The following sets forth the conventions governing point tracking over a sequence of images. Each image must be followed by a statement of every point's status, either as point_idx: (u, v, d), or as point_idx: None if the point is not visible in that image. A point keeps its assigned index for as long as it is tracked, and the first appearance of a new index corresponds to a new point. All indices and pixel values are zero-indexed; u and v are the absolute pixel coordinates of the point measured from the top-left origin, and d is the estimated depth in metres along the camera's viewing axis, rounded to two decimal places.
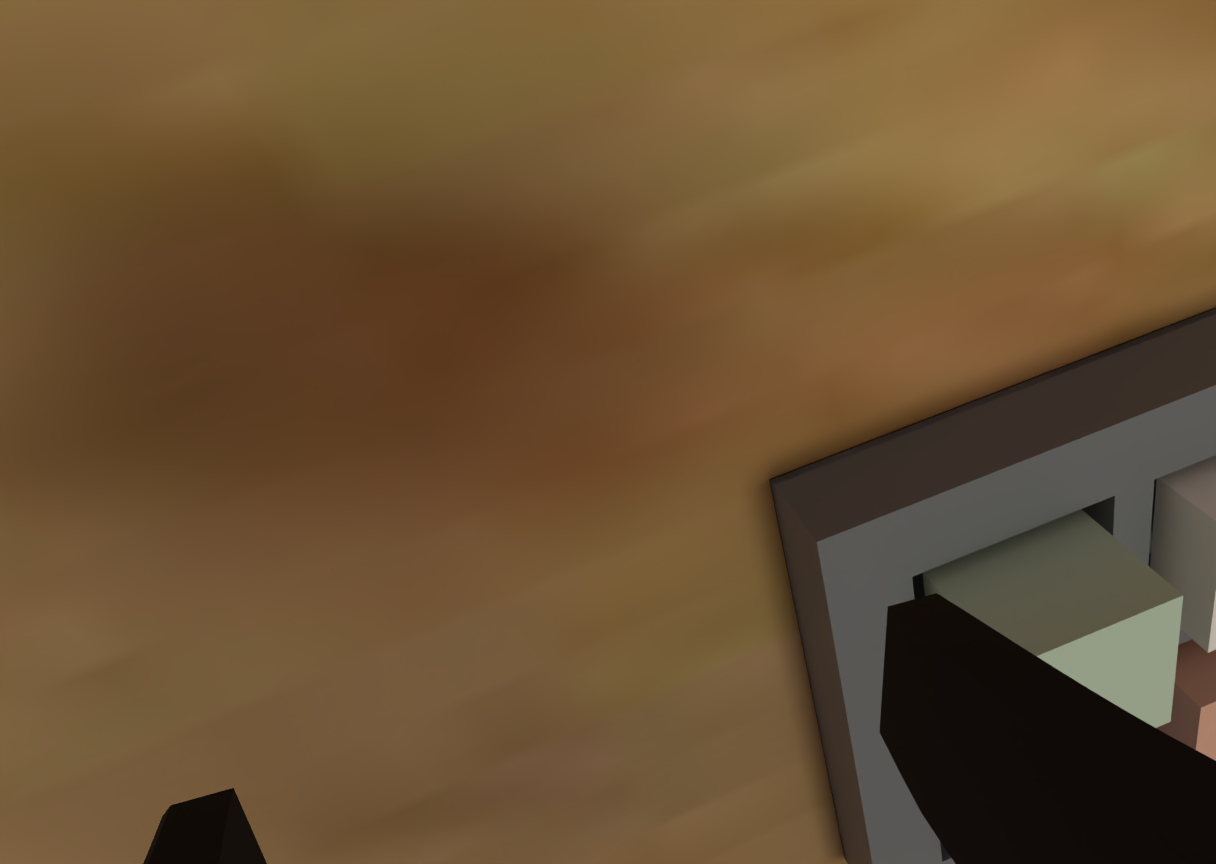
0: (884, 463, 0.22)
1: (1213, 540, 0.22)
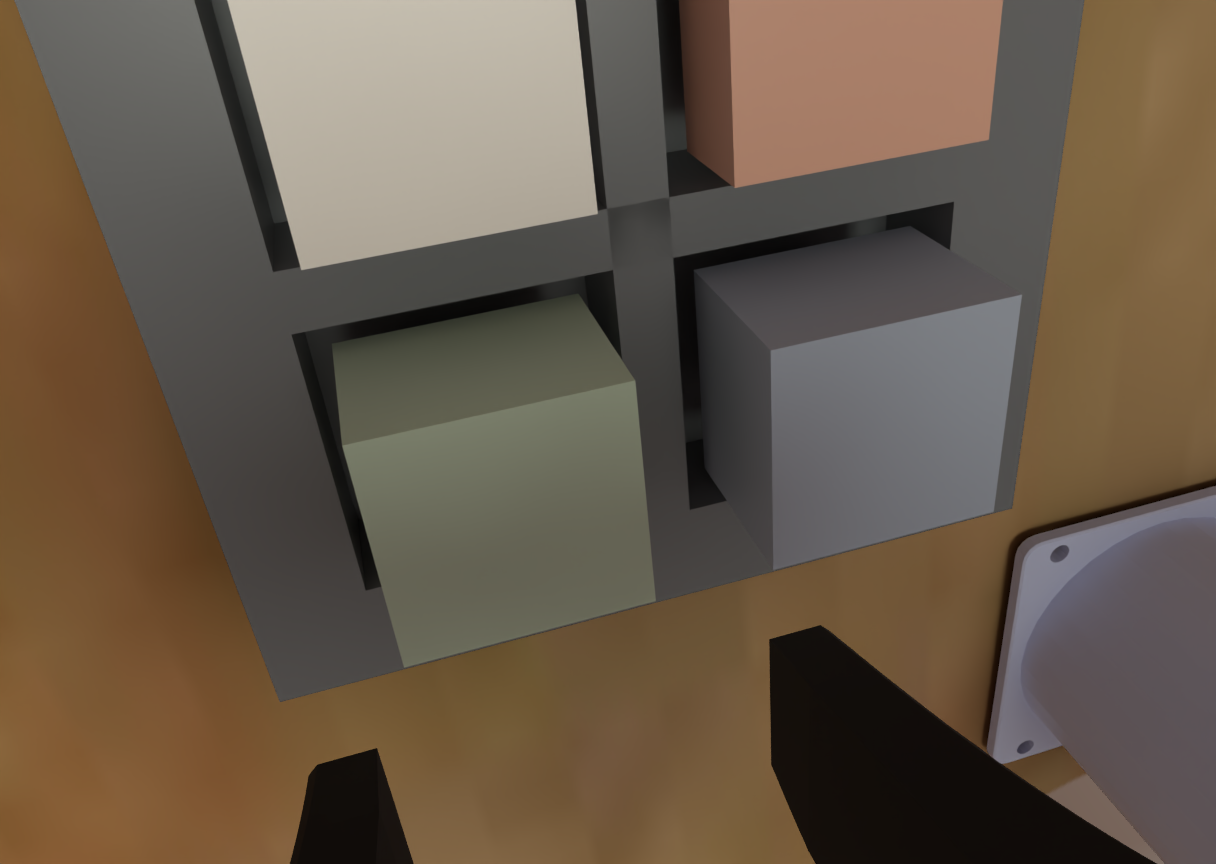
0: None
1: (345, 256, 0.13)
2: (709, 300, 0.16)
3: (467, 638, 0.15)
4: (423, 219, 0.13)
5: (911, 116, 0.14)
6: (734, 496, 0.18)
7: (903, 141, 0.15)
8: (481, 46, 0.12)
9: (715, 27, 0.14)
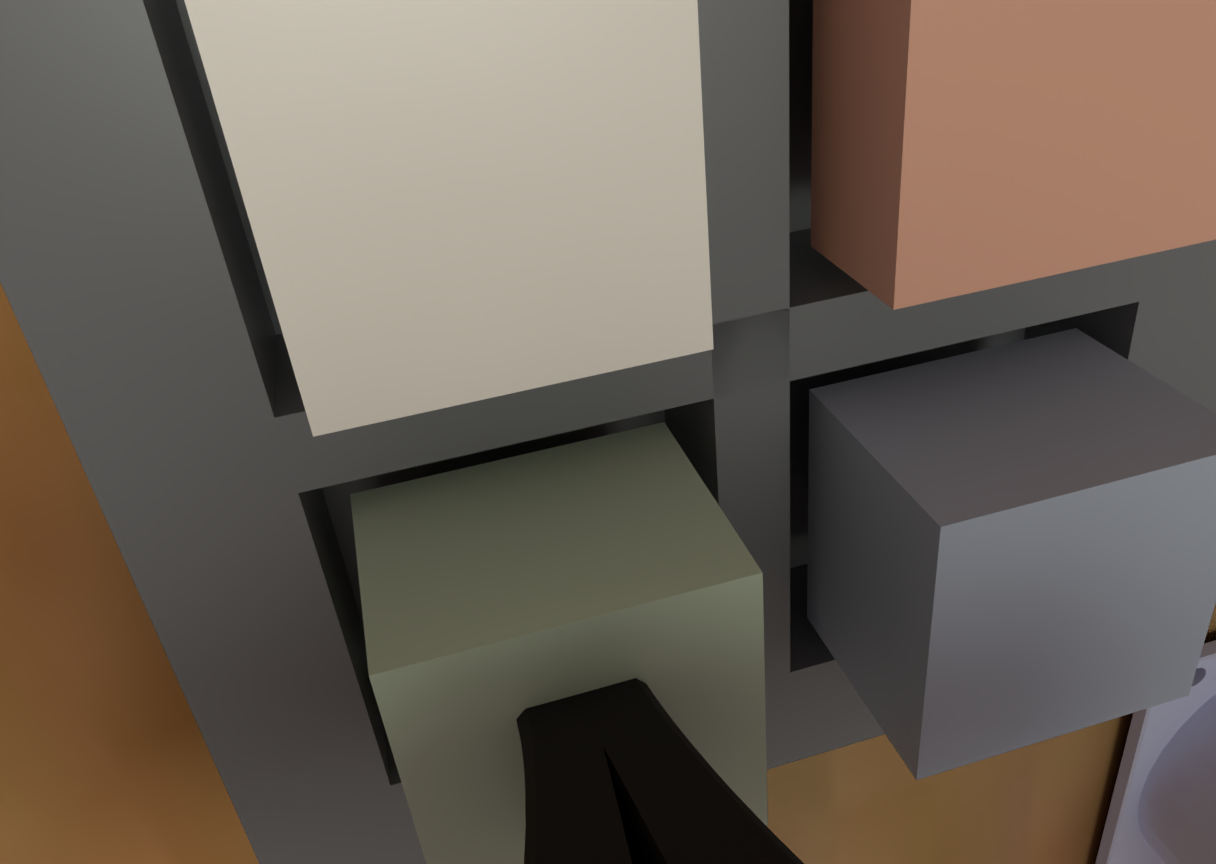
0: None
1: (373, 412, 0.10)
2: (833, 432, 0.13)
3: None
4: (480, 365, 0.10)
5: (1127, 212, 0.11)
6: (855, 669, 0.14)
7: (1113, 244, 0.11)
8: (567, 134, 0.09)
9: (877, 98, 0.10)
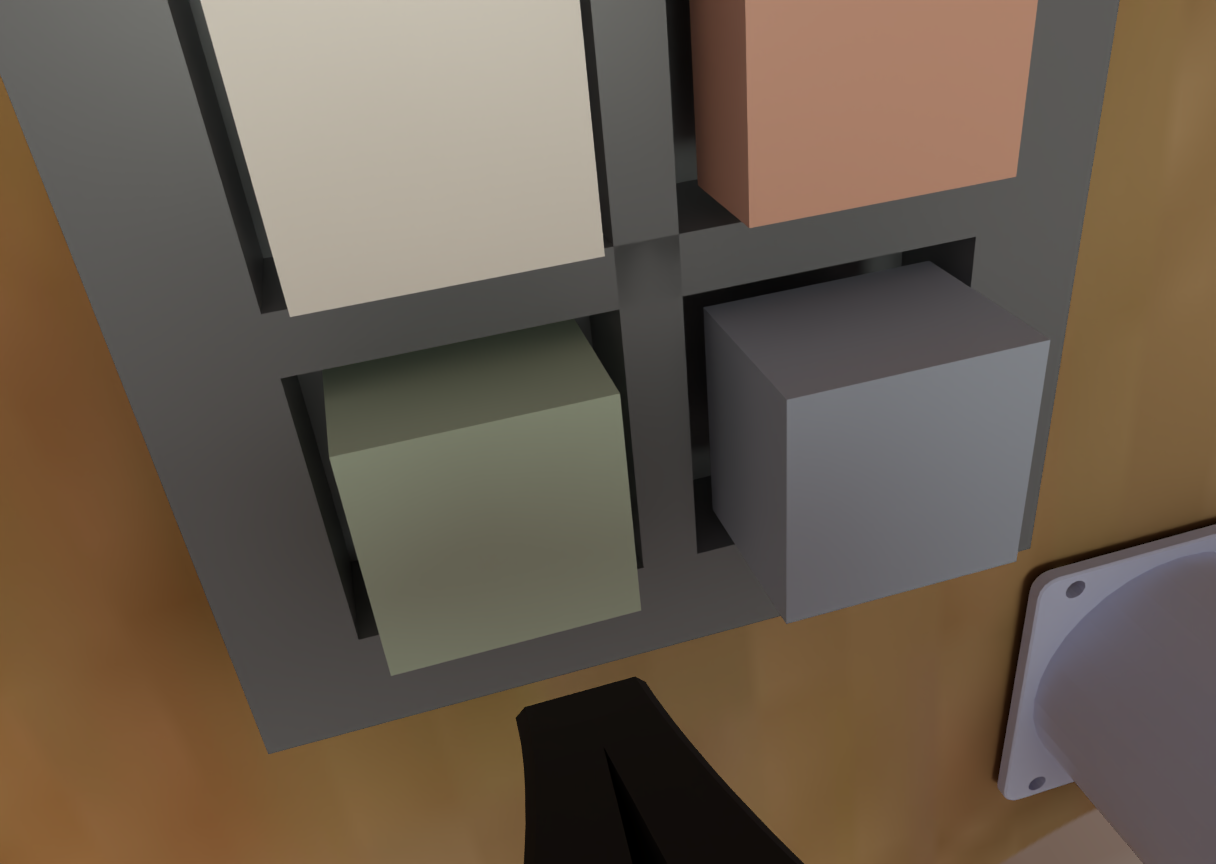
0: None
1: (336, 301, 0.13)
2: (720, 340, 0.16)
3: (454, 647, 0.15)
4: (420, 263, 0.12)
5: (935, 153, 0.14)
6: (744, 543, 0.17)
7: (927, 178, 0.14)
8: (482, 81, 0.12)
9: (730, 60, 0.13)
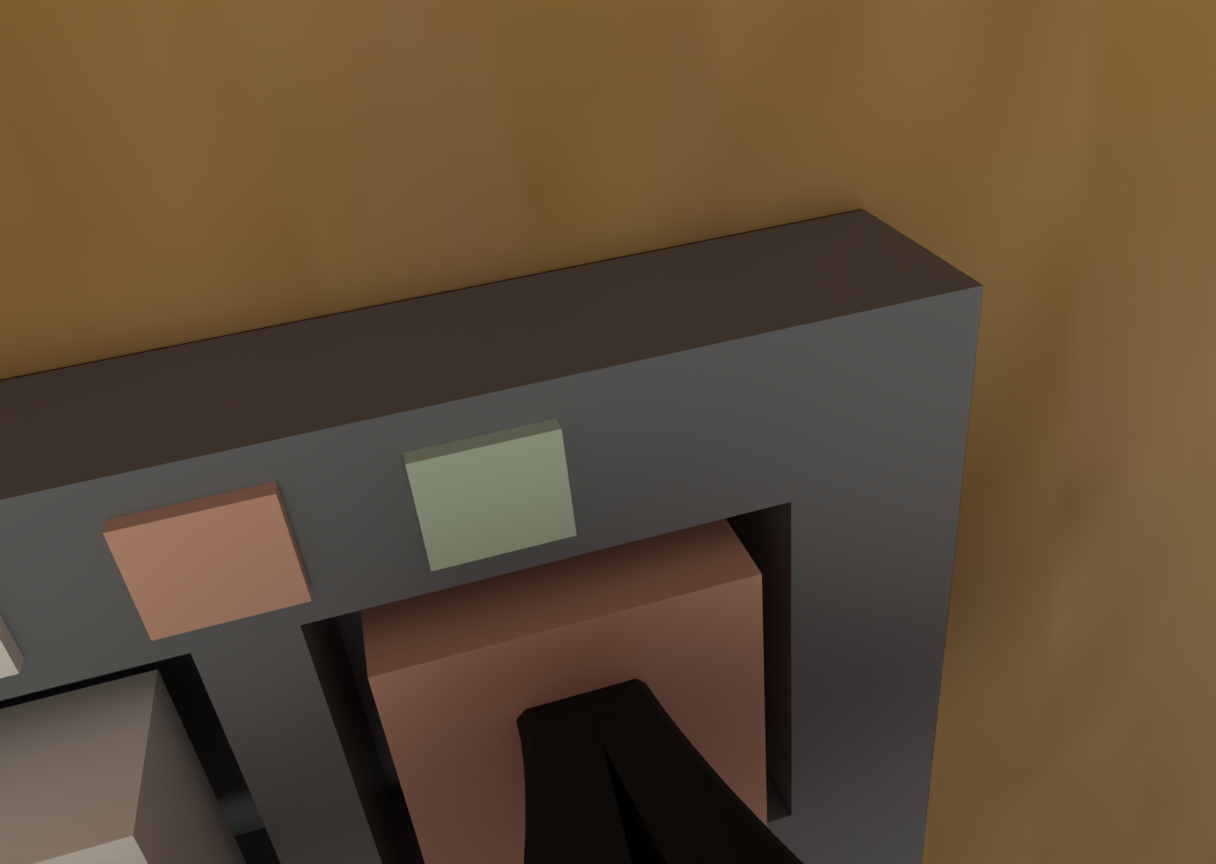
0: None
1: None
2: None
3: None
4: None
5: None
6: None
7: None
8: None
9: None
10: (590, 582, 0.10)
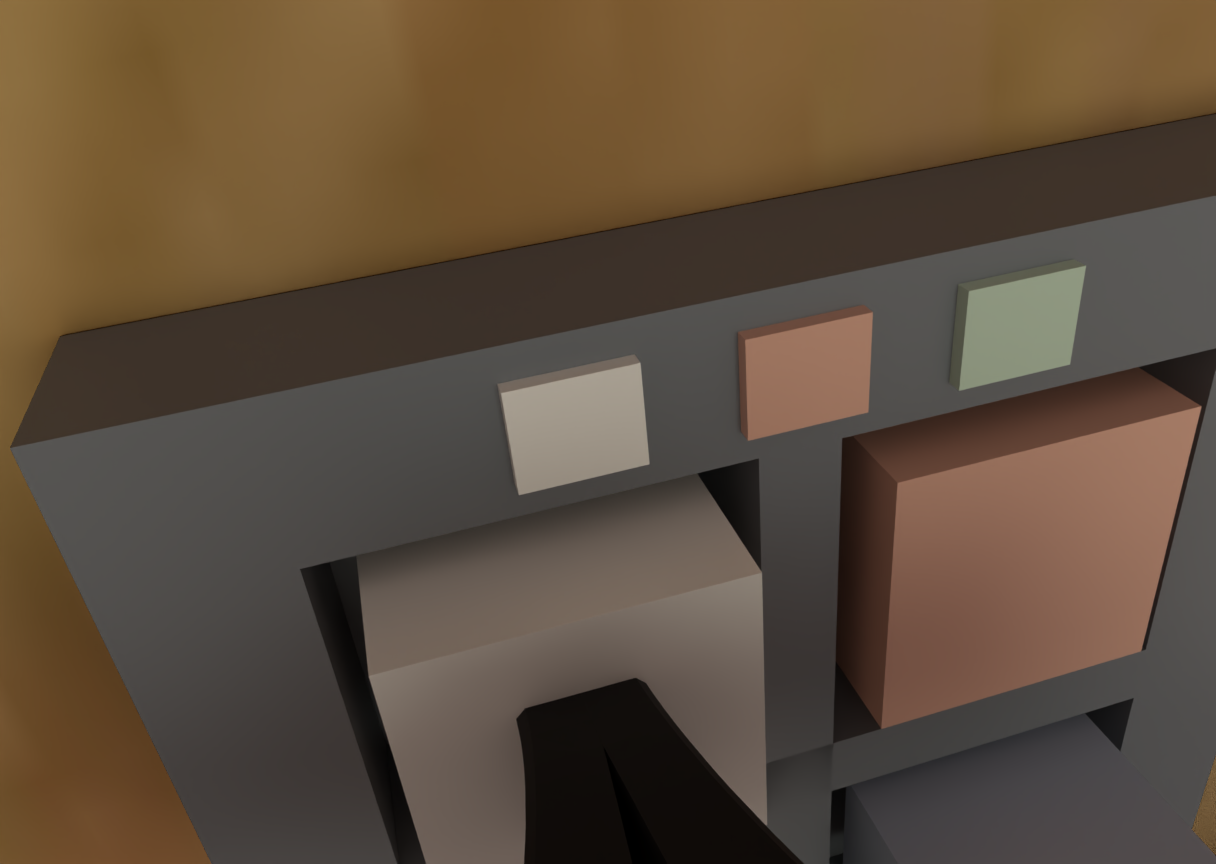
0: None
1: None
2: (868, 827, 0.15)
3: None
4: None
5: (1065, 646, 0.14)
6: None
7: (1055, 666, 0.14)
8: None
9: (868, 586, 0.13)
10: (1050, 415, 0.12)
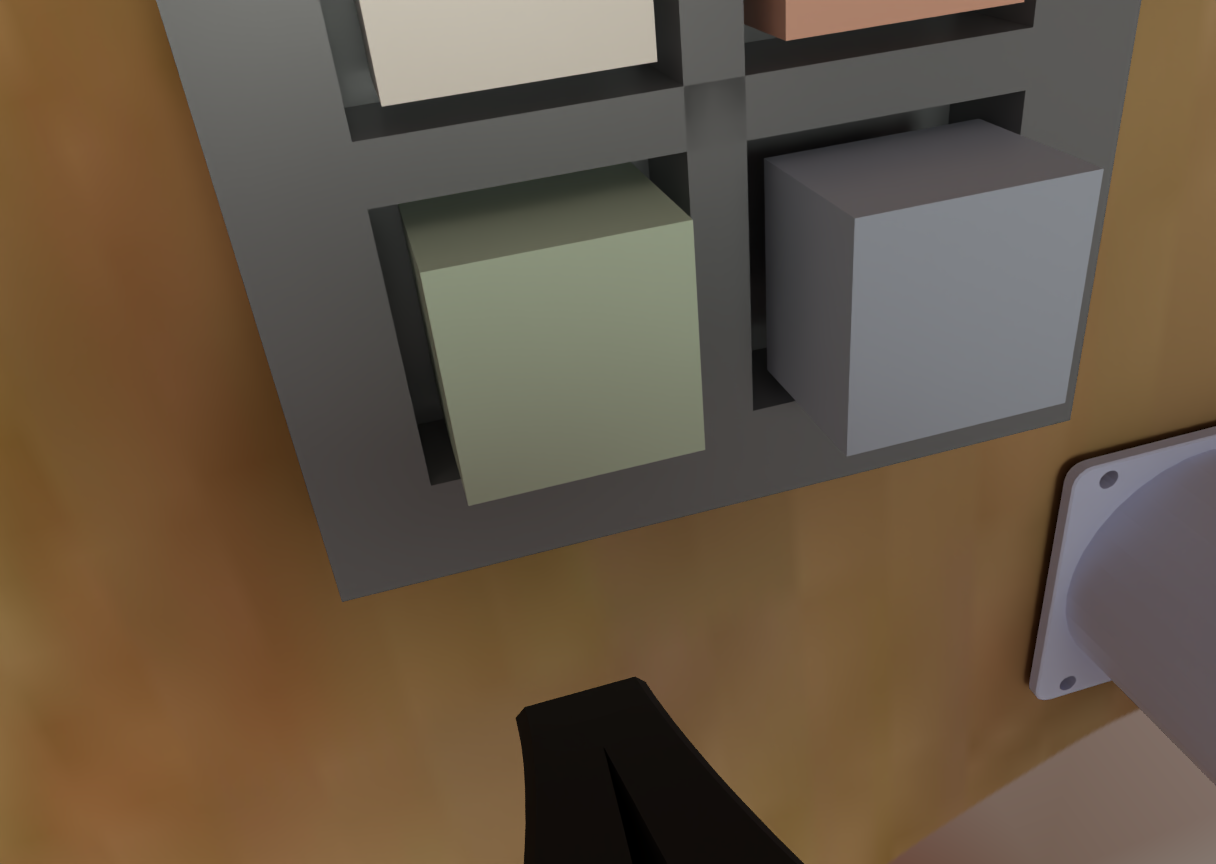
0: None
1: (421, 96, 0.14)
2: (781, 185, 0.16)
3: (528, 478, 0.16)
4: (495, 60, 0.14)
5: None
6: (802, 390, 0.17)
7: (944, 0, 0.15)
8: None
9: None
10: None
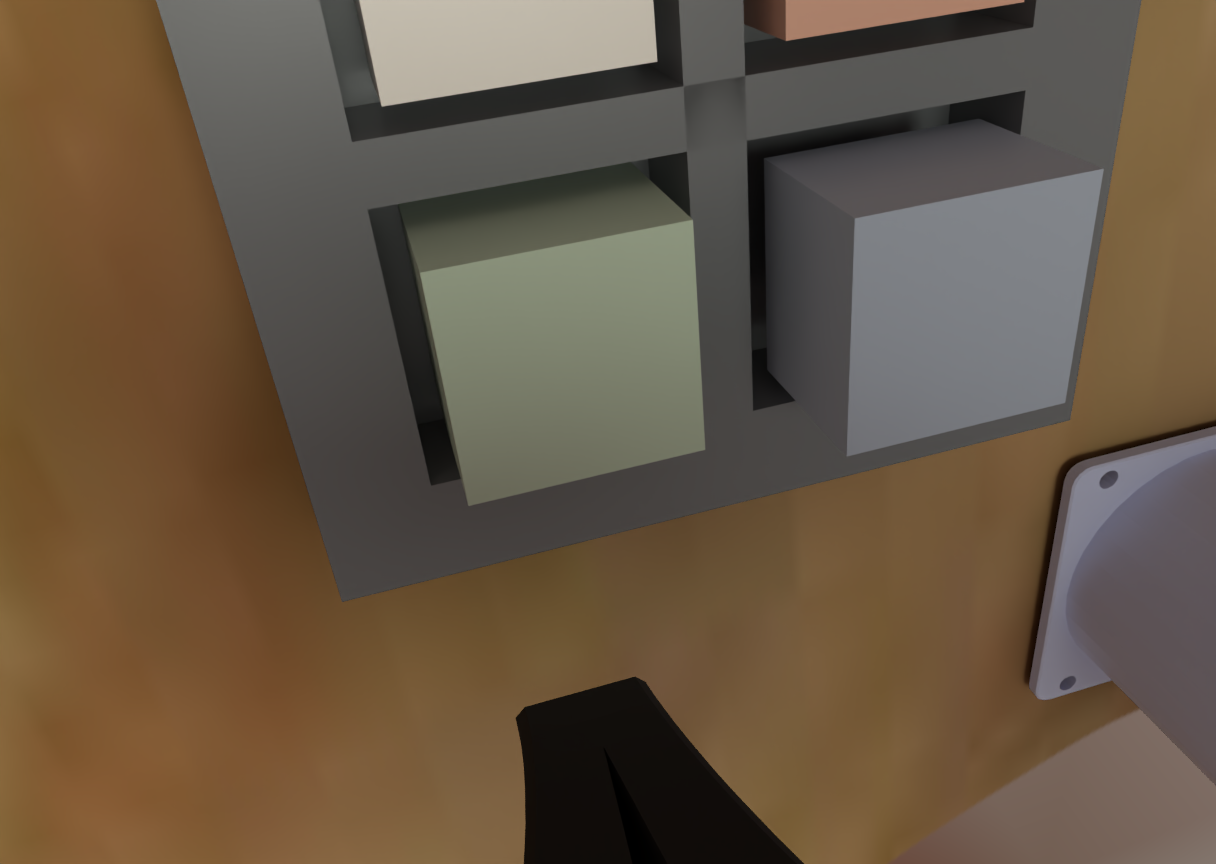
0: None
1: (421, 96, 0.14)
2: (781, 185, 0.16)
3: (528, 478, 0.16)
4: (495, 60, 0.14)
5: None
6: (802, 390, 0.17)
7: (944, 0, 0.15)
8: None
9: None
10: None
